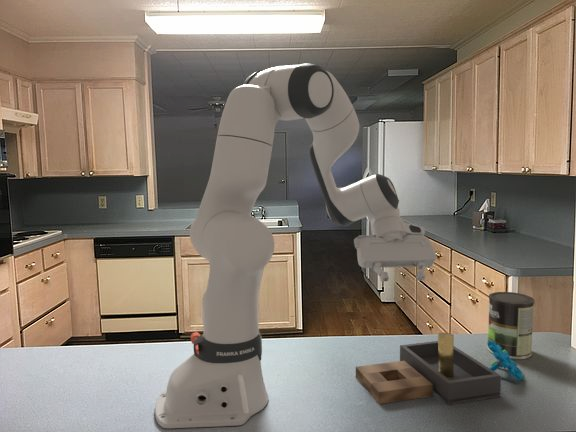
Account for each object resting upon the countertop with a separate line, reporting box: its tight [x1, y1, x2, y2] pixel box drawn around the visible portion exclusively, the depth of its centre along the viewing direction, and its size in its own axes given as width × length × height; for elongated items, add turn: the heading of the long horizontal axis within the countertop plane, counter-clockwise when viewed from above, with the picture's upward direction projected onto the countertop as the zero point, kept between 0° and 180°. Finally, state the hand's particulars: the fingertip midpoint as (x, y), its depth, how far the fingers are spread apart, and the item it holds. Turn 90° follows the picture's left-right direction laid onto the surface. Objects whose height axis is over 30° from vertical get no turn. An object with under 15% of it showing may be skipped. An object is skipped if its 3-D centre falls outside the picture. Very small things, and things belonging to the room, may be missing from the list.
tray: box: [399, 340, 502, 406], centre depth 100 cm, size 12×20×4 cm, turn 14°
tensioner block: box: [355, 360, 434, 405], centre depth 97 cm, size 12×12×2 cm
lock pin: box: [437, 332, 455, 378], centre depth 100 cm, size 3×3×9 cm
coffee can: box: [487, 291, 535, 360], centre depth 114 cm, size 10×10×14 cm
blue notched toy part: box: [486, 340, 525, 381], centre depth 102 cm, size 11×6×10 cm
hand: (403, 279), depth 112 cm, fingers open, 8 cm apart
